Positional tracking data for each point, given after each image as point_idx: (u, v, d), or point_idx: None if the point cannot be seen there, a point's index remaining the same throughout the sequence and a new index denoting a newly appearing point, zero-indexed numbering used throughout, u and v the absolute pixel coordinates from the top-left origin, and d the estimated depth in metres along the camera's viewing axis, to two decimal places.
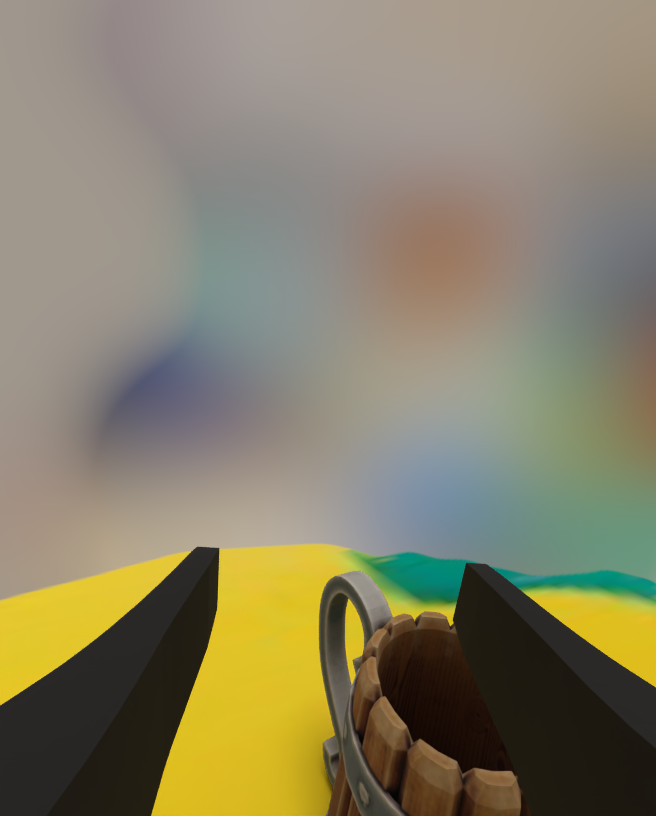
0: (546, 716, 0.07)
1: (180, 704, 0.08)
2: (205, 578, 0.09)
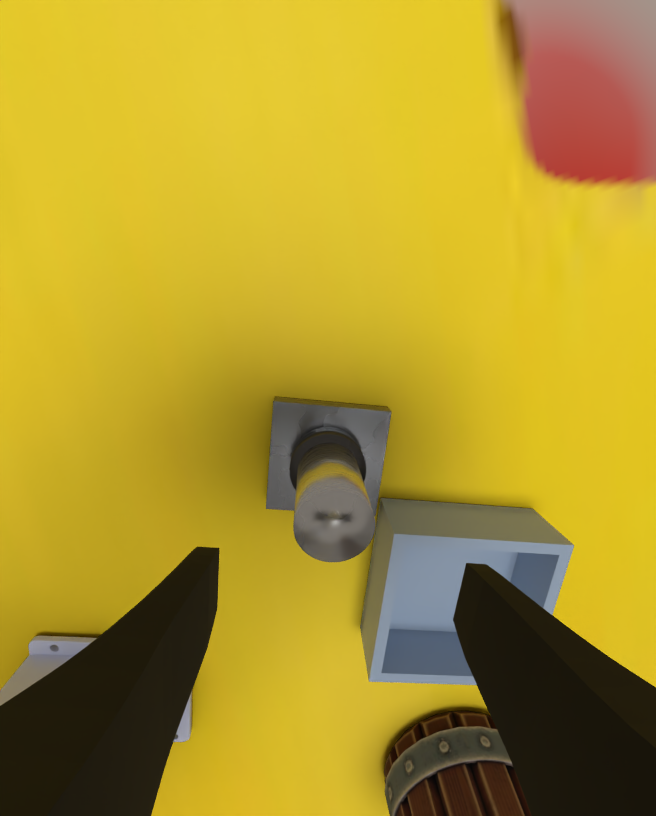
0: (546, 716, 0.07)
1: (180, 704, 0.08)
2: (205, 578, 0.09)
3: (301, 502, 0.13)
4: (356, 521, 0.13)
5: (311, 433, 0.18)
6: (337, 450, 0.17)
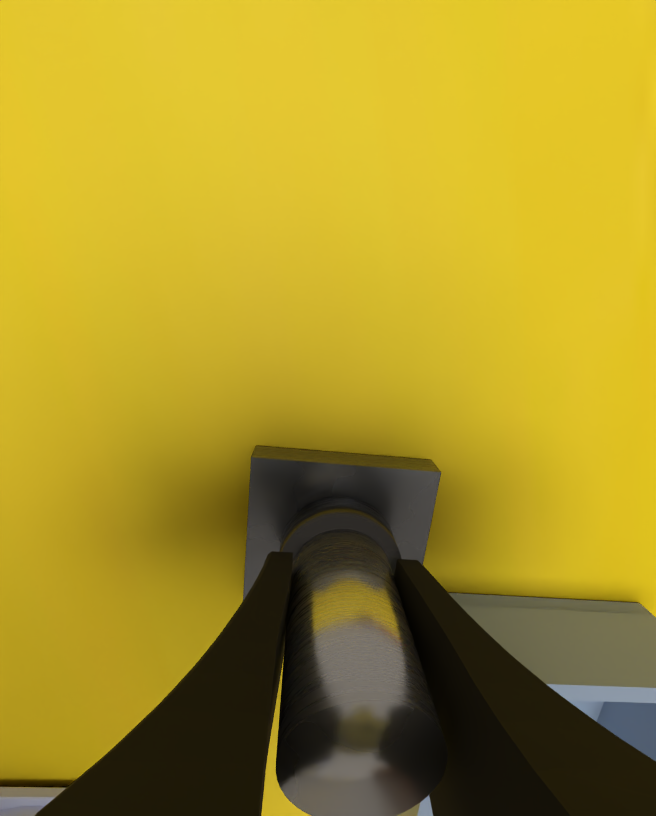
0: (446, 713, 0.07)
1: (274, 707, 0.08)
2: (289, 583, 0.09)
3: (292, 715, 0.06)
4: (408, 754, 0.06)
5: (313, 510, 0.11)
6: (357, 550, 0.10)
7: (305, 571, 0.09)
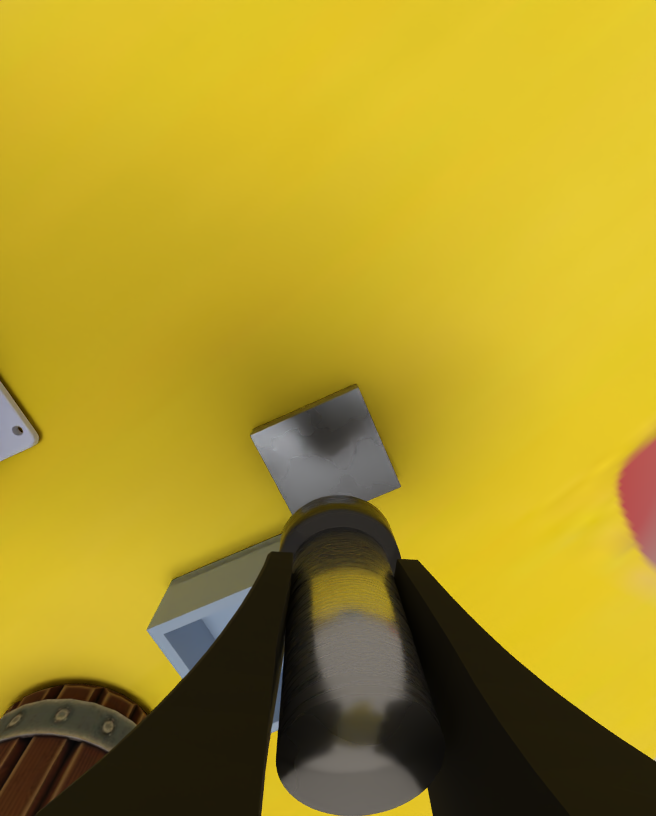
0: (446, 713, 0.07)
1: (273, 707, 0.08)
2: (289, 583, 0.09)
3: (293, 709, 0.06)
4: (406, 746, 0.06)
5: (313, 508, 0.11)
6: (357, 547, 0.10)
7: (305, 568, 0.10)
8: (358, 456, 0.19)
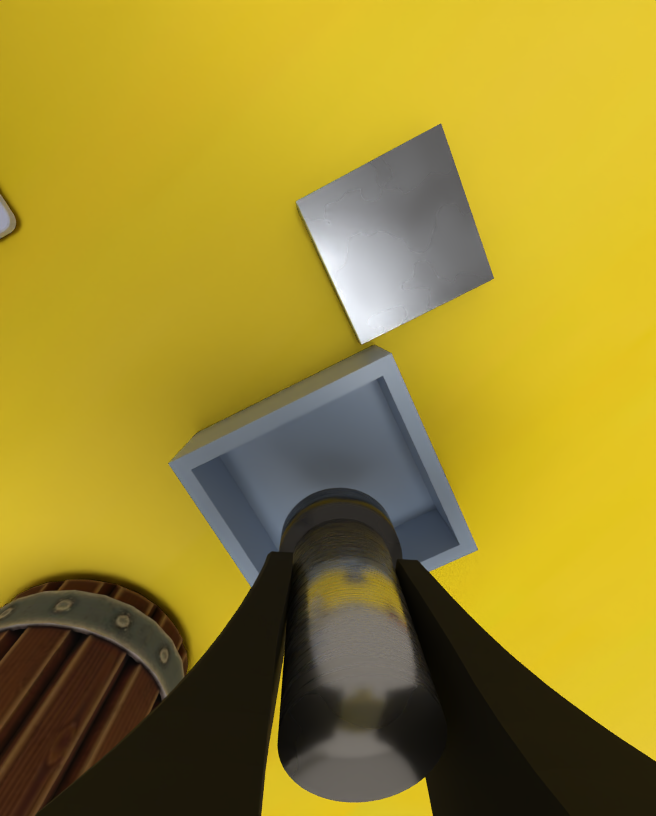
0: (445, 713, 0.07)
1: (274, 707, 0.08)
2: (289, 582, 0.09)
3: (297, 689, 0.06)
4: (409, 731, 0.06)
5: (317, 499, 0.11)
6: (361, 538, 0.10)
7: (308, 556, 0.10)
8: (439, 233, 0.14)
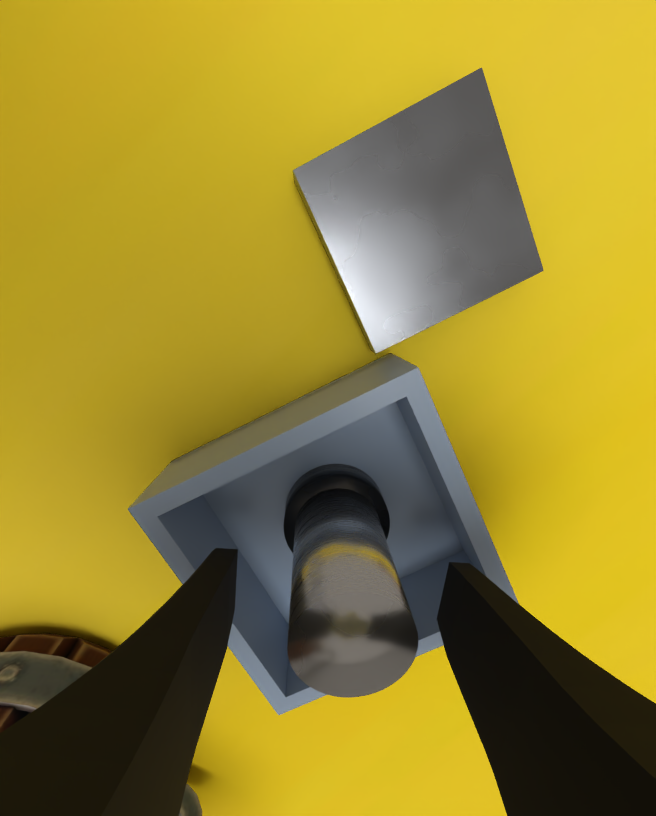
0: (522, 715, 0.07)
1: (204, 705, 0.08)
2: (226, 579, 0.09)
3: (302, 605, 0.08)
4: (389, 639, 0.08)
5: (316, 473, 0.13)
6: (354, 503, 0.12)
7: (310, 517, 0.11)
8: (475, 212, 0.11)
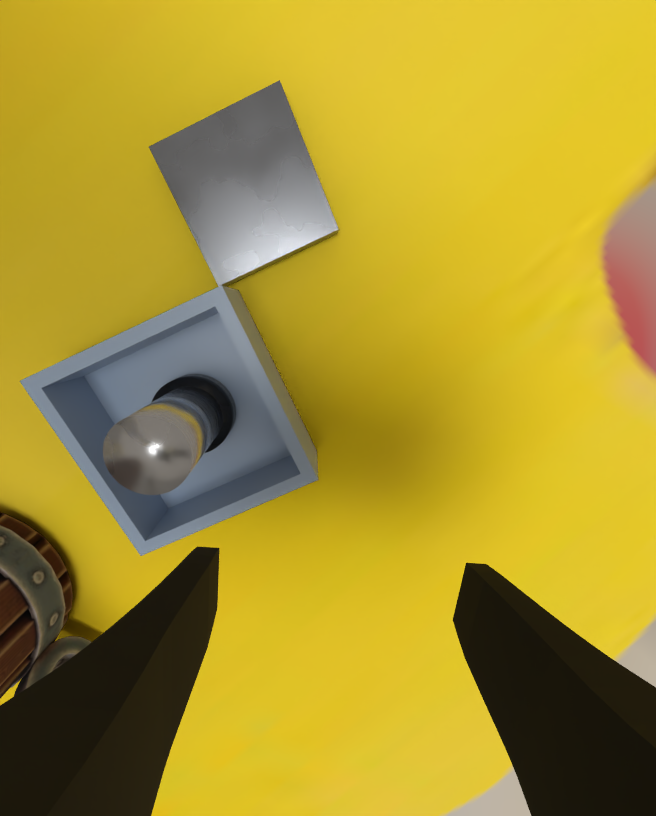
0: (546, 716, 0.07)
1: (180, 704, 0.08)
2: (205, 578, 0.09)
3: None
4: (171, 451, 0.13)
5: (178, 377, 0.17)
6: (193, 392, 0.16)
7: None
8: (284, 183, 0.16)
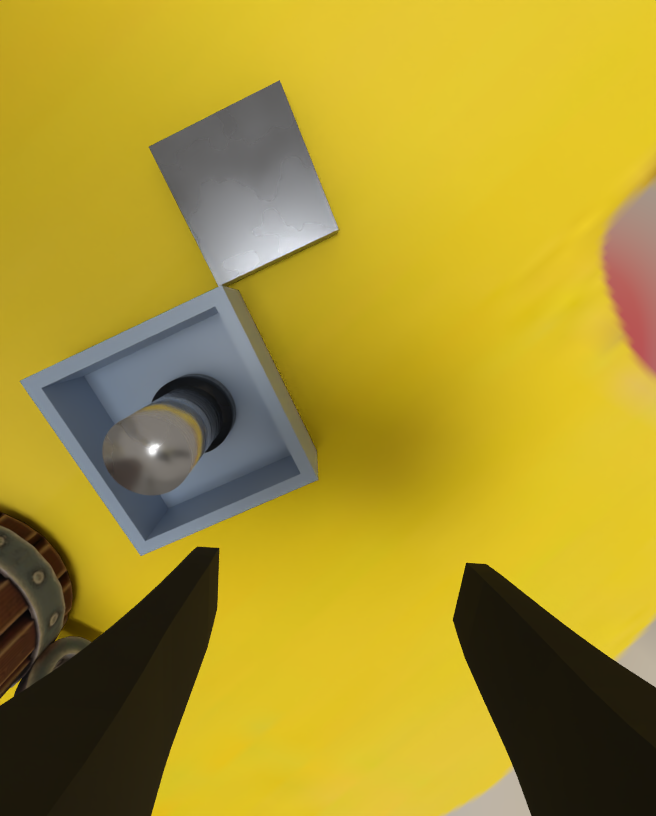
0: (546, 716, 0.07)
1: (180, 704, 0.08)
2: (205, 578, 0.09)
3: None
4: (170, 452, 0.13)
5: (178, 377, 0.17)
6: (193, 392, 0.16)
7: None
8: (284, 183, 0.16)
